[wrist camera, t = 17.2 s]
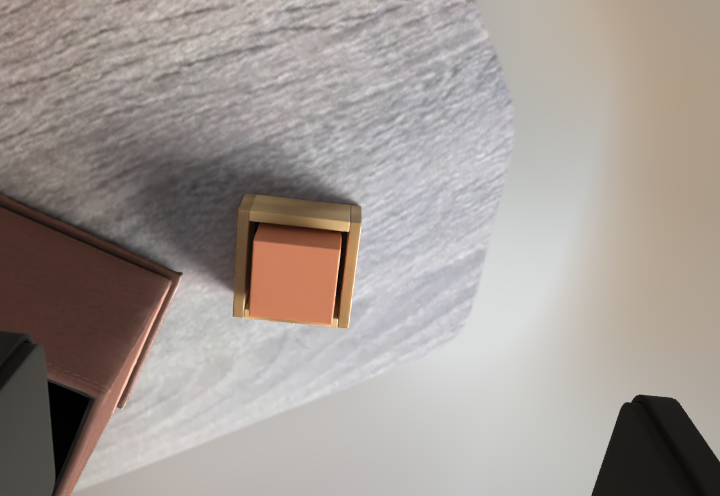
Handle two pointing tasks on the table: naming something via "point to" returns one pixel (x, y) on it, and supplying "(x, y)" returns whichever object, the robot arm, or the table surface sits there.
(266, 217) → the tan wooden square frame
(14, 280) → the desk organizer
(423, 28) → the table surface
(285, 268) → the orange cube
